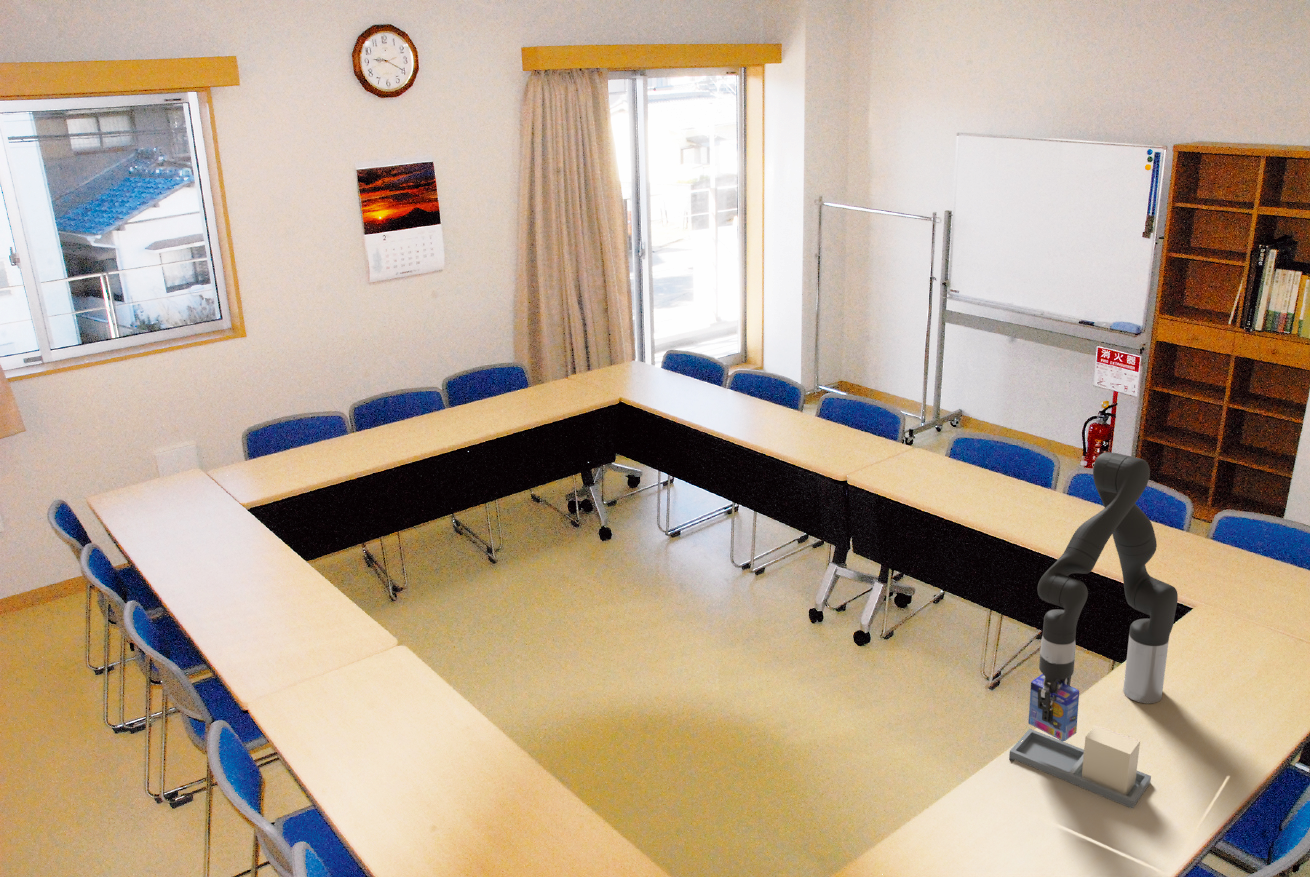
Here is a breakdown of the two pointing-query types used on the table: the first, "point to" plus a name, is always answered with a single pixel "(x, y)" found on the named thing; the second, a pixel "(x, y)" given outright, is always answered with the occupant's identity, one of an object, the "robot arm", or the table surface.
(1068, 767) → the tray
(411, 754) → the table surface
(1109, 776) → the beige box
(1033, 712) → the ink cartridge box
